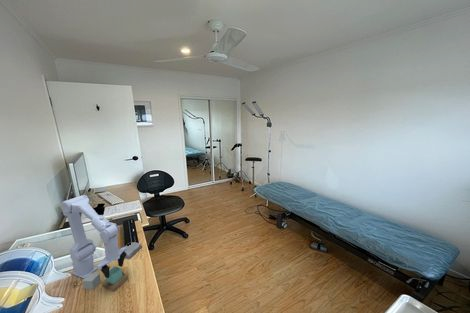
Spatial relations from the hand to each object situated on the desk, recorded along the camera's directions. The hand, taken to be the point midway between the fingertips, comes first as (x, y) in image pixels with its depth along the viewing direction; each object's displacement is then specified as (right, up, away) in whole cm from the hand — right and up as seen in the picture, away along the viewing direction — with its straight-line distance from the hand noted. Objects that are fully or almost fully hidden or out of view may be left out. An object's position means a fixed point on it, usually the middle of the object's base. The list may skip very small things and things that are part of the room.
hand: (114, 271), depth 97 cm
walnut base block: (0, -7, +1) cm, 7 cm away
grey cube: (-11, -7, 0) cm, 13 cm away
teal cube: (0, -4, 0) cm, 4 cm away
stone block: (-6, -3, +24) cm, 25 cm away
